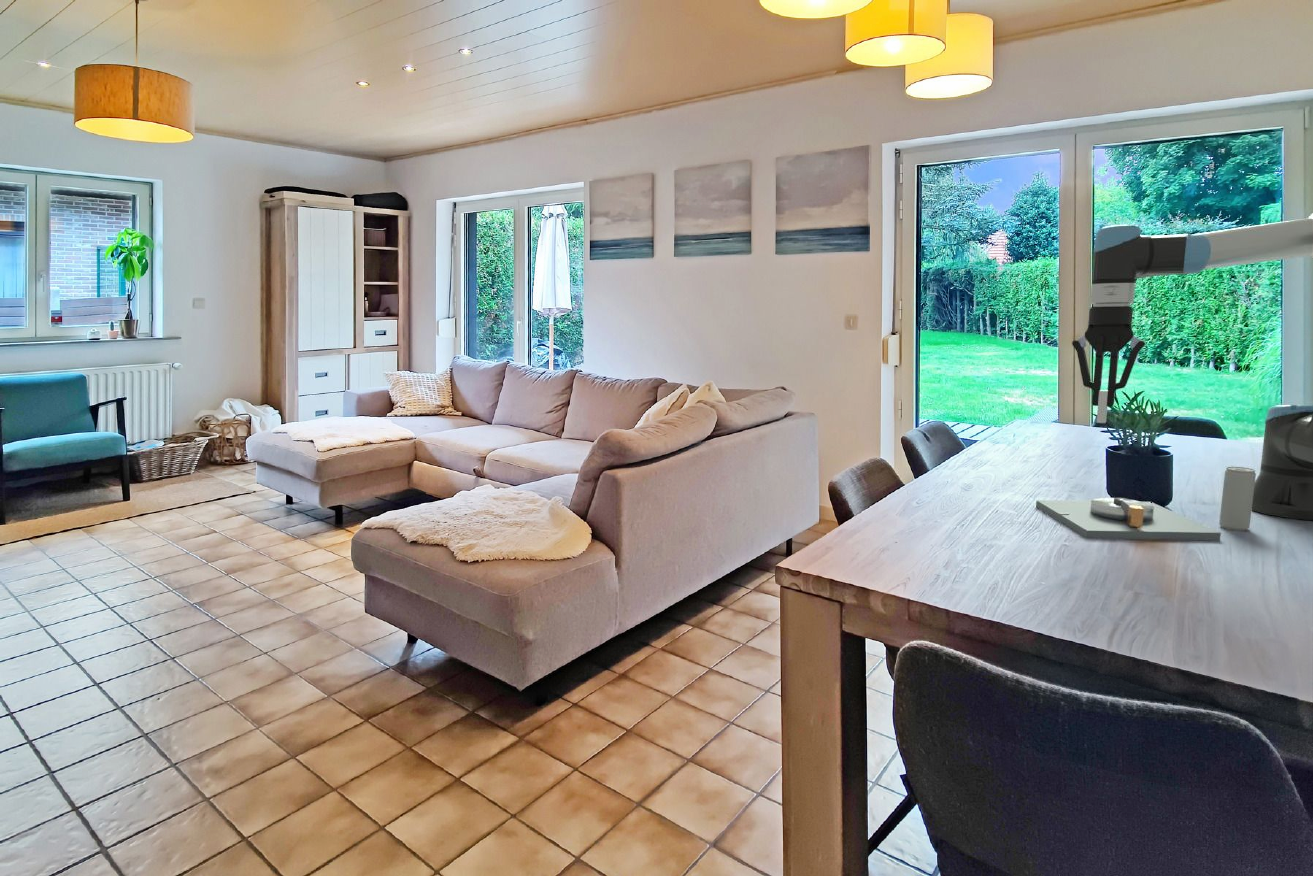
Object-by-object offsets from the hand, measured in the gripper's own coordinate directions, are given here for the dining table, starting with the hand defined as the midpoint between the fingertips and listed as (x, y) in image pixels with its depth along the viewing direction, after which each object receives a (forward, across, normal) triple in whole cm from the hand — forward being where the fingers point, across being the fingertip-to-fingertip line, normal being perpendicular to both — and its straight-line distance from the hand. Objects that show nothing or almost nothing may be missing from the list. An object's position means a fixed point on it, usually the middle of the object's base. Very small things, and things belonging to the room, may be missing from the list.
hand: (1101, 422), depth 155 cm
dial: (+19, +6, -3) cm, 20 cm away
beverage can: (+21, +24, +7) cm, 32 cm away
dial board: (+20, +5, -1) cm, 21 cm away
